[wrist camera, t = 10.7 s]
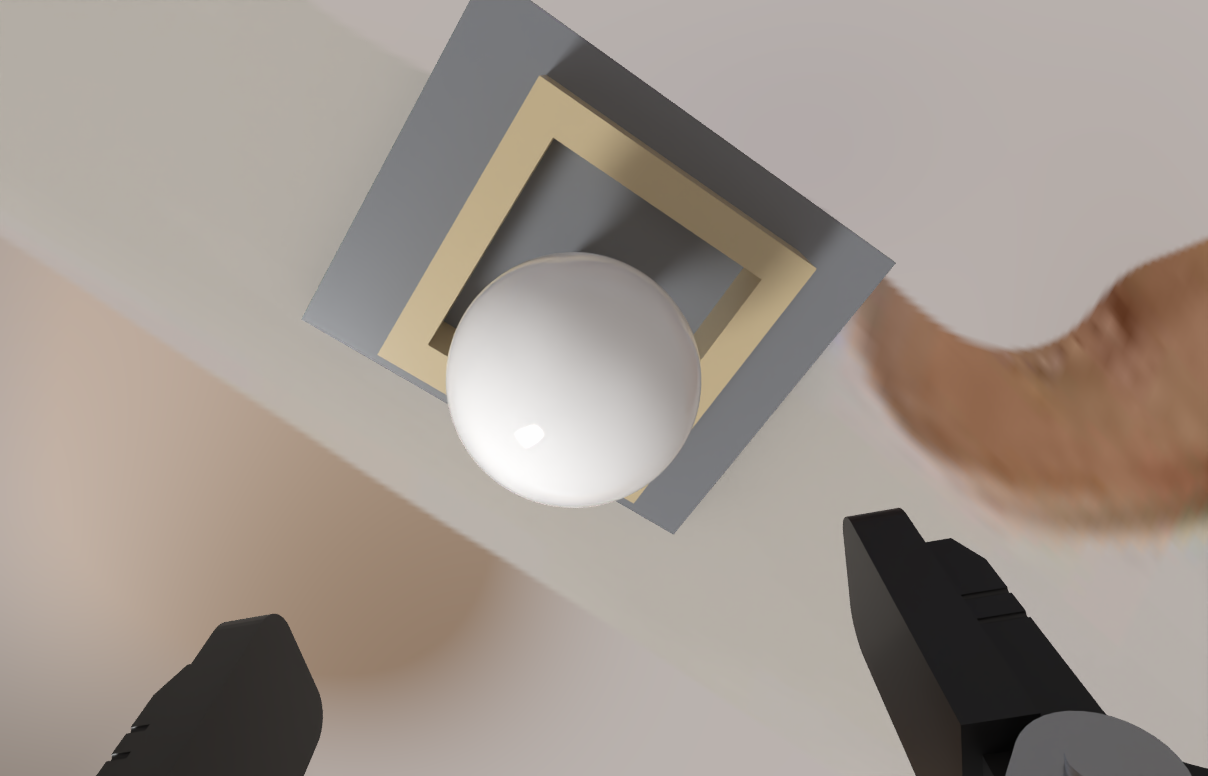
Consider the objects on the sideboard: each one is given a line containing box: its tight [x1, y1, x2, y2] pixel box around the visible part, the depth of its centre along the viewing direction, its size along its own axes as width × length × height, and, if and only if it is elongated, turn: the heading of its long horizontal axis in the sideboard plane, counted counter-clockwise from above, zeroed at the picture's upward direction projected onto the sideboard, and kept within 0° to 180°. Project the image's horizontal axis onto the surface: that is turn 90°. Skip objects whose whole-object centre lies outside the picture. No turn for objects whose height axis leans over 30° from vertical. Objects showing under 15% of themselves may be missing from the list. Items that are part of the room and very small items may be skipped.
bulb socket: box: [302, 0, 895, 534], centre depth 26 cm, size 16×13×4 cm
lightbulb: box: [446, 252, 702, 508], centre depth 21 cm, size 6×6×11 cm
